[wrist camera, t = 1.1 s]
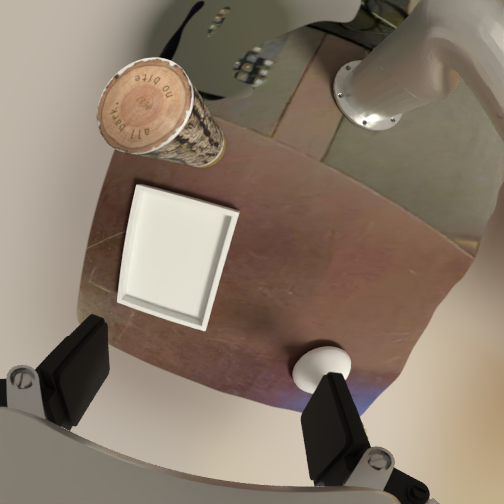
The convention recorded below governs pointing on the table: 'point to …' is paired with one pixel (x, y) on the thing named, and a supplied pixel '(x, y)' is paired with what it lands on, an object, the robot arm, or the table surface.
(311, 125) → the table surface
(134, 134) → the paper tube
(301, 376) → the flower in vase
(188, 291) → the tray
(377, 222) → the table surface
